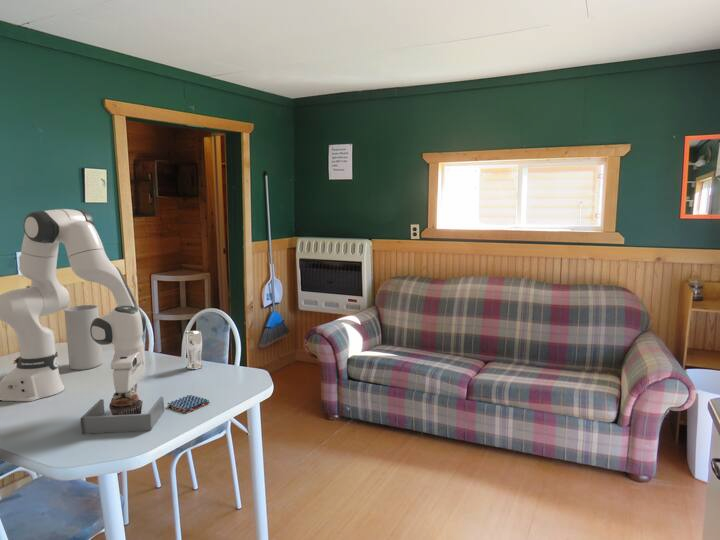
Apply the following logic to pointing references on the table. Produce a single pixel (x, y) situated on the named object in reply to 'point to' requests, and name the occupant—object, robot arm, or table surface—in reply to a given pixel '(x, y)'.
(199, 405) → the woven mat
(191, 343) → the beer glass
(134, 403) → the cupcake
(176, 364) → the table surface
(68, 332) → the cylinder vase
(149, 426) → the box
